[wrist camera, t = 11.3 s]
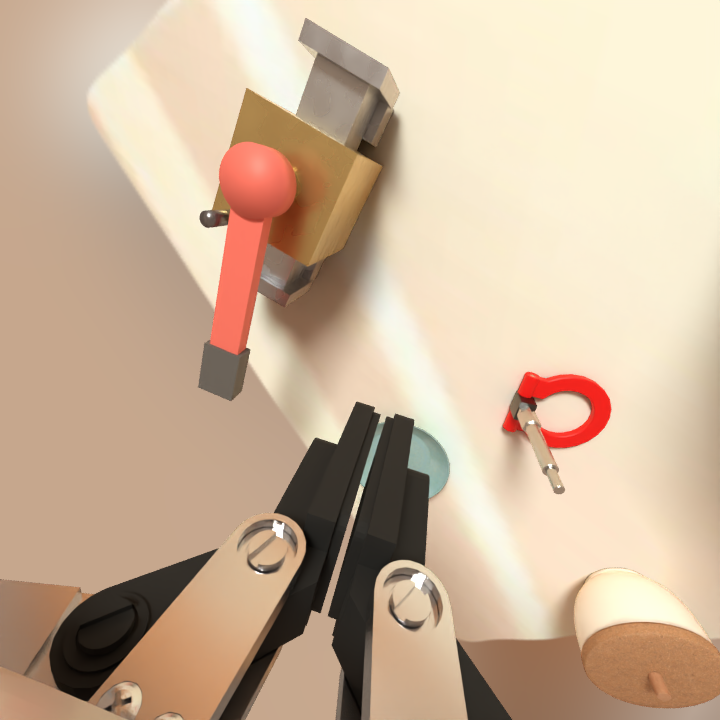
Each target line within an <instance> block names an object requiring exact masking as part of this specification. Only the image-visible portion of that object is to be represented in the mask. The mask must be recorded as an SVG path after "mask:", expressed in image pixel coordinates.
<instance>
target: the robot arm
mask: <svg viewBox="0 0 720 720" xmlns="http://www.w3.org/2000/svg"><path fill="white" fill-rule="evenodd" d="M374 409H375V407H372V406H369V405H366V404H363V403H360V402H356V404H355V406H354V408H353V411H352V413H351V415H350V417H349V420H348V422H347V424H346V426H345V429H344V431H343V433H342V436H341V438H340V440H339V442H338V445H337V444H334V443H331V442H328V441H325V440H322V439H319V438H315V439H314V441H313V442H312V444H311V446H310V448H309V449H308V451H307V453H306V455H305V457H304V459H303V460H302V462H301V464H300V466H299V468H298V470H297V471H296V473H295V475H294V477H293V479H292V481H291V482H290V484H289V486H288V488H287V490H286V492H285V493H284V495H283V497H282V499H281V501H280V503H279V504H278V506H277V508H276V510H275V512H274V513H263V514H258V515H255V516H253V517H251V518H249V519H246V520H245V521H244V522H243V523H241V524H240V525H239V526H238V527H237V528H236V529H235V530H234V532H233V533H232V534H231V535H230V536H229V537H228V539H227V540H226V541H225V542H224V543H223V544H222V546H221V547H220V548H218V549H215V550H213V551H210V552H207V553H204V554H201V555H199V556H196V557H193V558H190V559H187V560H185V561H182V562H179V563H176V564H174V565H171V566H168V567H165V568H162V569H160V570H157V571H154V572H151V573H148V574H146V575H143V576H140V577H137V578H134V579H132V580H129V581H126V582H123V583H120V584H118V585H115V586H112V587H109V588H107V589H104V590H102V591H100V592H98V593H96V594H87V593H81V589H80V587H71V586H61V585H52V584H41V583H32V582H22V581H12V580H2V579H0V720H245V719H246V717H247V716H248V714H249V712H250V710H251V707H252V706H253V704H254V702H255V700H256V698H257V696H258V694H259V692H260V690H261V688H262V686H263V684H264V683H265V680H266V679H267V677H268V675H269V673H270V671H271V669H272V667H273V665H274V663H275V661H276V659H277V657H278V655H279V653H280V651H281V649H282V646H283V645H284V644H285V643H287V642H289V641H291V640H293V639H294V638H296V637H298V636H300V635H301V634H303V632H304V628H305V626H306V625H307V623H308V620H309V616H310V613H311V610H313V611H316V612H318V613H321V610H322V606H323V603H324V600H325V596H326V593H327V590H328V587H329V583H330V580H331V577H332V574H333V570H334V567H335V564H336V560H337V557H338V554H339V551H340V547H341V544H342V540H343V537H344V534H345V531H346V527H347V524H348V521H349V518H350V514H351V511H352V508H353V505H354V501H355V498H356V495H357V491H358V488H359V485H360V481H361V478H362V475H363V471H364V468H365V465H366V462H367V458H368V455H369V452H370V448H371V445H372V442H373V438H374V435H375V432H376V428H377V425H378V422H379V418H380V415H381V414H377V413H374ZM413 426H414V419H410V418H407V417H404V416H401V415H398V414H395V416H394V419H393V418H390V417H386V420H385V423H384V426H383V429H382V433H381V436H380V439H379V442H378V445H377V449H376V452H375V455H374V458H373V461H372V464H371V468H370V471H369V474H368V477H367V480H366V484H365V487H364V490H363V493H362V497H361V500H360V504H359V507H358V511H357V514H356V518H355V522H354V525H353V529H352V532H351V536H350V539H349V543H348V547H347V550H346V554H345V557H344V561H343V564H342V568H341V571H340V575H339V578H338V582H337V585H336V589H335V592H334V596H333V599H332V603H331V606H330V610H329V614H328V616H329V617H331V618H334V619H336V623H335V627H334V631H333V634H332V635H333V636H334V638H333V643H332V647H333V649H334V651H335V653H336V656H337V658H338V660H339V662H340V664H341V667H342V668H341V673H340V679H339V689H338V699H337V709H336V720H512V719H511V717H510V716H509V715H508V713H507V712H506V710H505V709H504V707H503V706H502V704H501V703H500V701H499V700H498V699H497V697H496V696H495V694H494V693H493V691H492V690H491V688H490V687H489V685H488V684H487V683H486V681H485V680H484V678H483V677H482V675H481V674H480V672H479V671H478V669H477V668H476V667H475V665H474V664H473V662H472V661H471V659H470V658H469V656H468V655H467V654H466V652H465V651H464V649H463V648H462V646H461V645H460V643H459V642H458V640H457V639H456V637H455V630H454V623H453V617H452V610H451V604H450V601H449V597H448V594H447V592H446V590H445V588H444V586H443V585H442V583H441V581H440V580H439V579H438V578H437V577H436V576H435V575H434V573H433V572H432V571H430V570H429V569H427V568H426V567H425V552H426V535H427V518H428V501H429V484H430V477H429V475H428V474H425V473H422V472H419V471H416V470H413V469H410V468H408V461H409V454H410V447H411V440H412V433H413Z"/></svg>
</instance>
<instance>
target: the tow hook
mask: <svg viewBox="0 0 720 720" xmlns="http://www.w3.org/2000/svg"><path fill="white" fill-rule="evenodd" d="M560 391H575V392H579V393H581V394H583V395H585V396H586V397H588V398H589V400H590V401H591V406H592V409H591V414H590V416H589V418H588V420H587V421H586V422H585V423H584V424H583V425H582V426H580V427H579V428H577V429H575V430H572V431H569V432H564V433H555V432H550V431H547V430H545V429H543V428H542V427H541V424H540V422H539V420H538V418H537V416H536V413H535V410H536V408H537V405H536V403H535V401H534V399H533V397H536V398H540V399H544V398H546V397H547V396H549V395H551V394H553V393H556V392H560ZM610 413H611V404H610V399H609V397H608V396H607V394H606V392H605V391H604V390H603V388H602V387H600V386H599V385H598V384H597V383H596V382H595V381H593V380H591V379H588V378H586V377H584V376H578V375H573V374H569V375H557V376H553V377H549V378H547V379H546V378H542V377H540V376H538V375H537V374H535V373H532V372H526V374H525V376H524V378H523V381H522V383H521V385H520V387H519V390H518V391H517V392H516V394H515V396H514V399H513V401H512V403H511V405H510V410H509V413H508V415H507V417H506V419H505V422H504V424H503V427H504V429H506V430H507V431H510V432H515V431H516V430H520V431H524V432H525V433H526V435H527V436H528V437H529V440H530V442H531V445H532V447H533V450H534V452H535V454H536V457H537V459H538V462H539V464H540V467H541V469H542V472H543V473H544V474H545V475H546V476H548V479H549V481H550V484H551V486H552V488H553V491H554V493H556V494H562V493H564V492H565V488H564V486H563V484H562V482H561V479H560V477H559V475H558V471H559V468H558V466H557V464H556V462H555V460H554V458H553V456H552V453H551V451H550V449H549V447H554V448H567V447H572V446H577V445H580V444H582V443H585V442H587V441H589V440H591V439H592V438H594V437H595V436H597V435H598V434H599V433H600V432H601V431H602V430H603V429H604V428H605V426H606V424H607V422H608V420H609V418H610ZM548 446H549V447H548Z"/></svg>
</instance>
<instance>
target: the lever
mask: <svg viewBox="0 0 720 720" xmlns="http://www.w3.org/2000/svg"><path fill="white" fill-rule="evenodd" d="M219 181H220V186H221V190H222V193H223V195H224V198H225V199H226V201H227V203H228V204H229V205H230V207H231V208H230V215H229V221H228V228H227V234H226V241H225V248H224V254H223V261H222V267H221V274H220V281H219V287H218V294H217V300H216V307H215V314H214V321H213V327H212V334H211V340H209V341H207V342H206V343H205V344H204V351H203V358H202V365H201V372H200V379H199V386H198V387H199V388H201V389H204V390H206V391H208V392H211V393H213V394H215V395H218V396H220V397H222V398H225V399H227V400H229V401H232V400H233V399H234V398H235V397H236V396H237V395H238V394H239V393H240V392H241V391H242V387H243V382H244V377H245V373H246V368H247V363H248V359H249V354H250V349H248V348H246V344H247V340H248V335H249V330H250V325H251V320H252V315H253V310H254V306H255V301H256V296H257V291H258V286H259V281H260V276H261V272H262V267H263V262H264V257H265V252H266V247H267V242H268V238H269V233H270V228H271V223H272V218H273V217H277V216H280V215H282V214H283V213H285V212H286V211H287V210H288V209H289V208H290V206H291V205H292V203H293V201H294V198H295V195H296V187H297V184H296V176H295V173H294V170H293V167H292V166H291V164H290V162H289V161H288V159H287V158H286V157H285V156H284V155H283V154H282V153H281V152H279V151H278V150H276V149H274V148H271V147H267V146H264V145H260V144H257V143H253V142H242V143H238V144H236V145H234V146H233V147H231V148H230V149H229V150H228V151H227V152H226V154H225V155H224V157H223V159H222V162H221V165H220V170H219Z"/></svg>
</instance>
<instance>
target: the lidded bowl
mask: <svg viewBox="0 0 720 720" xmlns="http://www.w3.org/2000/svg"><path fill="white" fill-rule="evenodd" d="M574 625H575V631H576V636H577V640H578V643H579V647H580V651H581V658H582V662H583V666H584V669H585V672H586V674H587V676H588V677H589V679H590V680H591V681H592V682H593V683H594V684H595V685H596V686H597V687H598V688H599V689H601V690H602V691H604V692H605V693H607V694H609V695H611V696H612V697H615V698H617V699H620V700H622V701H625V702H628V703H632V704H635V705H640V706H646V707H653V708H680V707H681V708H682V707H689V706H694V705H698V704H701V703H704V702H707V701H709V700H712V699H713V698H715V697H716V696H718V695H719V694H720V653H719V652H718V650H717V649H716V647H715V646H714V645H713V644H712V642H711V640H710V638H709V637H708V635H707V634H706V632H705V631H704V629H703V628H702V626H701V625H700V623H699V622H698V621H697V619H696V618H695V617H694V615H693V614H692V613H691V612H690V610H689V609H688V608H687V607H686V606H685V605H684V604H683V603H682V602H681V601H680V600H679V599H678V598H677V597H676V596H675V595H674V594H673V593H671V592H670V591H669V590H667V589H666V588H665V587H663V586H662V585H660V584H659V583H657V582H655V581H653V580H651V579H649V578H647V577H644V576H643V575H641V574H640V573H638V572H636V571H633V570H630V569H625V568H606V569H602V570H599V571H596V572H594V573H592V574H591V575H590V576H589V577H588V578H587V579H586V581H585V583H584V585H583V586H582V588H581V589H580V591H579V592H578V594H577V597H576V600H575V605H574Z"/></svg>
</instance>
